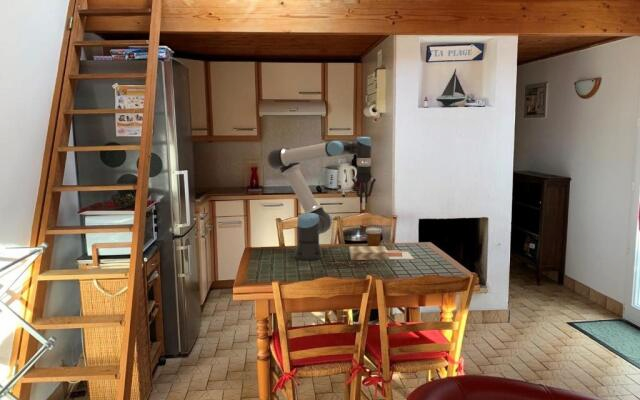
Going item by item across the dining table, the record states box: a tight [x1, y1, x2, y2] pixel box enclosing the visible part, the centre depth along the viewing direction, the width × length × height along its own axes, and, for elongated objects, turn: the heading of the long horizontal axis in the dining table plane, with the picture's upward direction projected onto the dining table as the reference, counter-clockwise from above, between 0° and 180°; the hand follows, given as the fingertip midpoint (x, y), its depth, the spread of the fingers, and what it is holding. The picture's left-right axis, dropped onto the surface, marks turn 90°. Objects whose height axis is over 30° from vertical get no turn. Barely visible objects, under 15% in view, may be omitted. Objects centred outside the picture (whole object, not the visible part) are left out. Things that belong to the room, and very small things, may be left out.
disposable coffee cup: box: [365, 227, 383, 246], centre depth 281 cm, size 10×10×12 cm
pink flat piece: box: [387, 249, 403, 257], centre depth 265 cm, size 8×6×2 cm
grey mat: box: [389, 251, 415, 261], centre depth 265 cm, size 13×15×1 cm
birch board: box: [348, 245, 389, 261], centre depth 264 cm, size 20×14×4 cm
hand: (363, 209), depth 261 cm, fingers closed
